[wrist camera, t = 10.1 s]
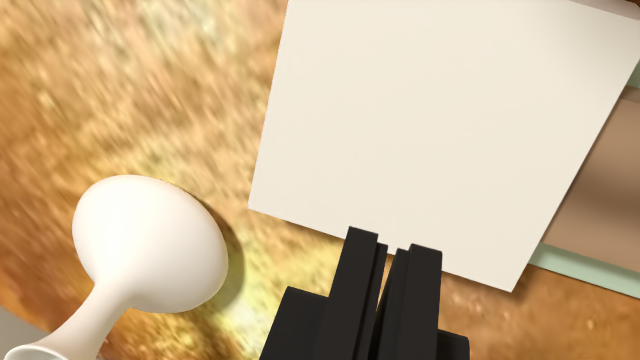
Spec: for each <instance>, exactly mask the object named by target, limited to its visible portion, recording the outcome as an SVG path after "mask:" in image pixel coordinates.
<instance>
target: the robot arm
mask: <svg viewBox="0 0 640 360" xmlns="http://www.w3.org/2000/svg"><path fill="white" fill-rule="evenodd" d="M378 235H379V234H378V233H374V232H370V231H367V230H363V229H359V228H356V227H352V226H349V228H348V232H347V235H346V239H345V242H344V245H343V249H342V252H341V256H340V259H339V263H338V266H337V270H336V273H335V276H334V280H333V283H332V287H331V290H330V294H329V297H325V296H321V295H318V294H315V293H311V292H308V291H304V290H301V289H297V288H294V287H290V286H288V287H287V288H286V291H285V293H284V295H283V298H282V301H281V303H280V306H279V308H278V311H277V314H276V316H275V319H274V322H273V324H272V327H271V329H270V332H269V335H268V337H267V340H266V342H265V345H264V348H263V350H262V353H261V356H260V358H259V360H470V348H469V340H468V337H465V336H461V335H458V334H454V333H451V332H447V331H444V330H440V329H438V317H439V302H440V287H441V272H442V257H443V254H442V251H439V250H436V249H432V248H428V247H425V246H421V245H417V244H414V243H411V245H410V247H409V250H405V249H401V248H397V250H396V253H395V256H394V259H393V262H392V265H391V268H390V271H389V274H388V277H387V280H386V284H385V287H384V290H383V293H382V296H381V299H380V302H379V305H378V308H377V304H378V298H379V293H380V288H381V283H382V277H383V272H384V267H385V262H386V256H387V251H388V245H386V244H383V243H379V242H377V240H378ZM376 309H377V311H376Z"/></svg>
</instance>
